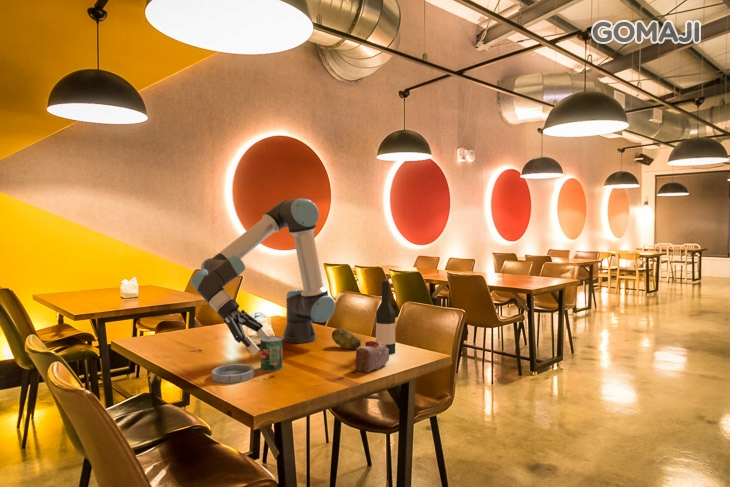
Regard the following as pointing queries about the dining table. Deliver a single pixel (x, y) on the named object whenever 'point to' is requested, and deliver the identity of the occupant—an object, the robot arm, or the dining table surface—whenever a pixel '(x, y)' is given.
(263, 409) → the dining table surface
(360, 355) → the food item
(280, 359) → the canned tomato
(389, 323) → the wine bottle
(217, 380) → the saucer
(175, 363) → the dining table surface
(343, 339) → the potato
